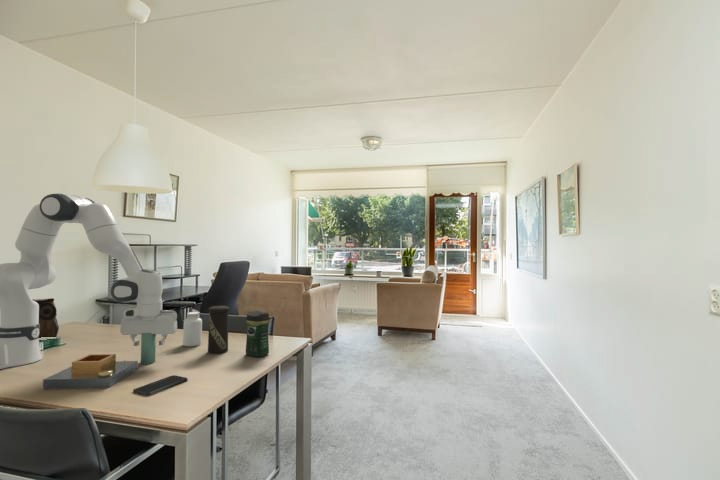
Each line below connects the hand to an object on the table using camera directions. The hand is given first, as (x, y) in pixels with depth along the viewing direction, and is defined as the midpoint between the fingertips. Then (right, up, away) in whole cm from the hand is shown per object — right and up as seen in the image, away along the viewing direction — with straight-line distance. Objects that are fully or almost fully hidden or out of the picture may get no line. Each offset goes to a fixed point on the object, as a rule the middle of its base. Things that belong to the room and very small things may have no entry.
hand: (149, 345), depth 143 cm
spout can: (0, -7, 0) cm, 7 cm away
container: (+21, -8, +16) cm, 28 cm away
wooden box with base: (-8, -6, -18) cm, 21 cm away
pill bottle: (+5, -8, +27) cm, 28 cm away
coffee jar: (+40, -8, +12) cm, 42 cm away
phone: (+18, -7, -24) cm, 31 cm away
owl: (-73, -7, +35) cm, 81 cm away
